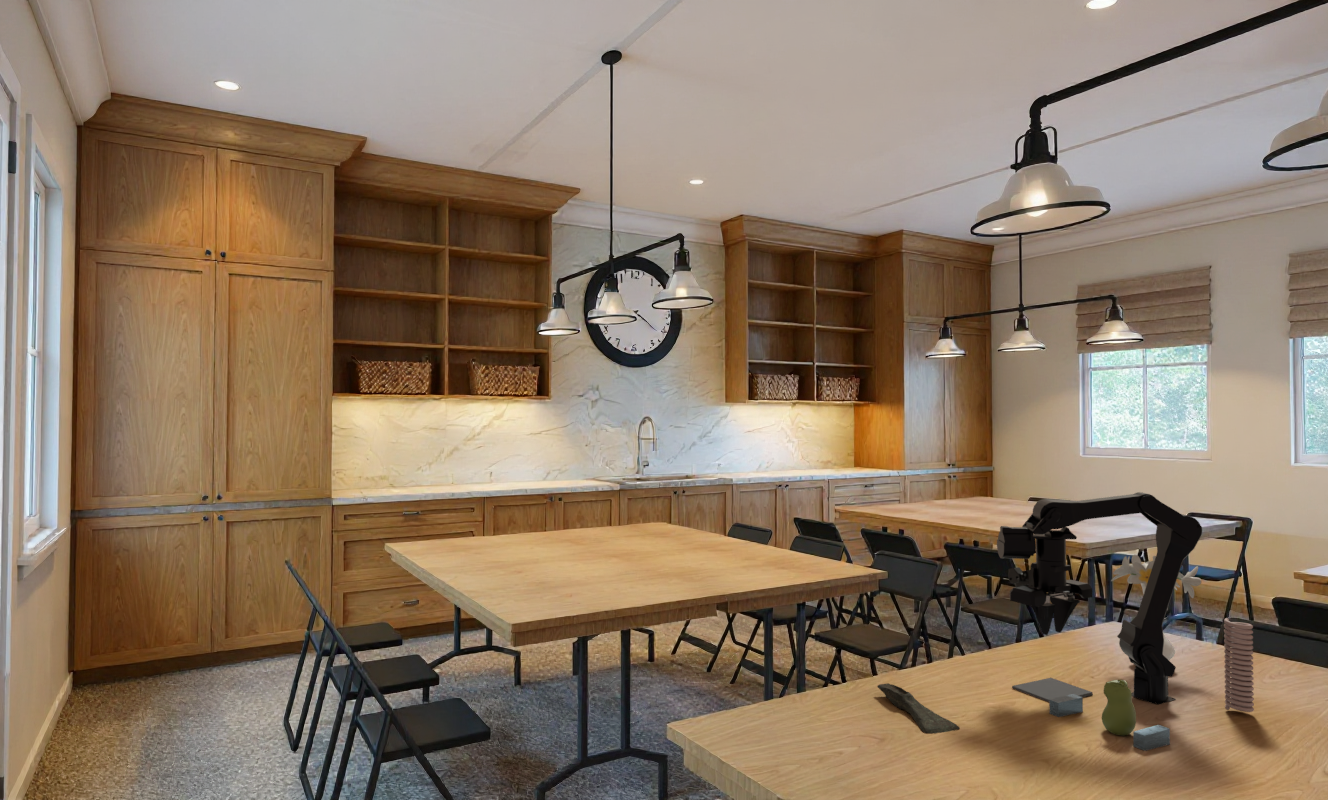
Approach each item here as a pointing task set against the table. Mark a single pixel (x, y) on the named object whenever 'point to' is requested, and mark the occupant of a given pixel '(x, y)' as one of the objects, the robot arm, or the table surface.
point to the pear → (1119, 708)
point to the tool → (917, 710)
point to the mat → (1050, 689)
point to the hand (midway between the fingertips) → (1051, 633)
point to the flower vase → (1141, 576)
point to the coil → (1238, 666)
